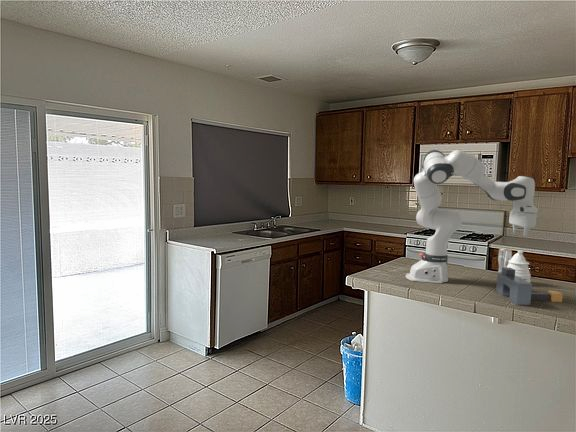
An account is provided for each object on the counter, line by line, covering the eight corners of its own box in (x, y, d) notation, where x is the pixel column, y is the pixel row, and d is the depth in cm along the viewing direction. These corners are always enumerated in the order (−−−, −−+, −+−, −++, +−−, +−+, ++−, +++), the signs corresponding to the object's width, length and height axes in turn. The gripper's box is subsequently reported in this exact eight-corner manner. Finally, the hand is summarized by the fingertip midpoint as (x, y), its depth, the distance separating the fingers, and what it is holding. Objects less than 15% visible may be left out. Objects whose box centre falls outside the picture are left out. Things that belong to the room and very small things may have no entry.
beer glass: (494, 273, 245) (496, 248, 244) (505, 273, 246) (507, 248, 244) (501, 276, 238) (503, 250, 237) (512, 276, 239) (514, 250, 237)
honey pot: (533, 286, 217) (536, 253, 215) (507, 284, 219) (510, 251, 217) (524, 280, 229) (527, 249, 227) (500, 279, 232) (502, 247, 230)
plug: (522, 300, 192) (522, 292, 192) (517, 297, 196) (518, 289, 196) (561, 302, 191) (562, 293, 191) (556, 299, 195) (557, 290, 195)
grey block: (516, 305, 184) (518, 276, 183) (496, 291, 205) (498, 266, 204) (530, 305, 184) (532, 277, 183) (508, 292, 205) (510, 266, 203)
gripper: (507, 206, 220) (504, 231, 221) (526, 209, 200) (523, 237, 201) (519, 206, 220) (516, 232, 221) (540, 209, 199) (537, 237, 201)
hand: (520, 234), depth 211 cm, fingers open, 8 cm apart
